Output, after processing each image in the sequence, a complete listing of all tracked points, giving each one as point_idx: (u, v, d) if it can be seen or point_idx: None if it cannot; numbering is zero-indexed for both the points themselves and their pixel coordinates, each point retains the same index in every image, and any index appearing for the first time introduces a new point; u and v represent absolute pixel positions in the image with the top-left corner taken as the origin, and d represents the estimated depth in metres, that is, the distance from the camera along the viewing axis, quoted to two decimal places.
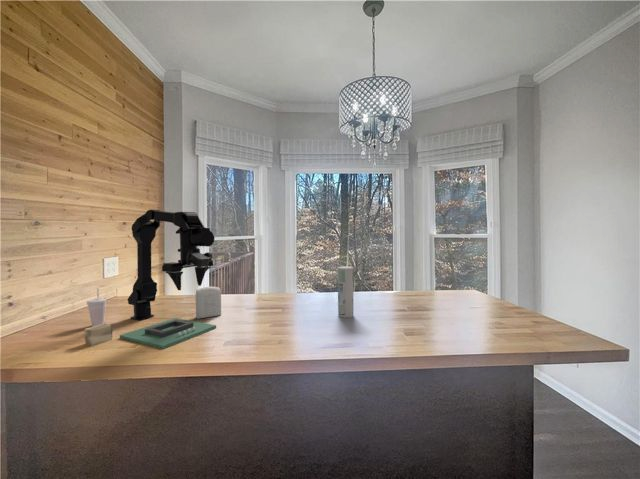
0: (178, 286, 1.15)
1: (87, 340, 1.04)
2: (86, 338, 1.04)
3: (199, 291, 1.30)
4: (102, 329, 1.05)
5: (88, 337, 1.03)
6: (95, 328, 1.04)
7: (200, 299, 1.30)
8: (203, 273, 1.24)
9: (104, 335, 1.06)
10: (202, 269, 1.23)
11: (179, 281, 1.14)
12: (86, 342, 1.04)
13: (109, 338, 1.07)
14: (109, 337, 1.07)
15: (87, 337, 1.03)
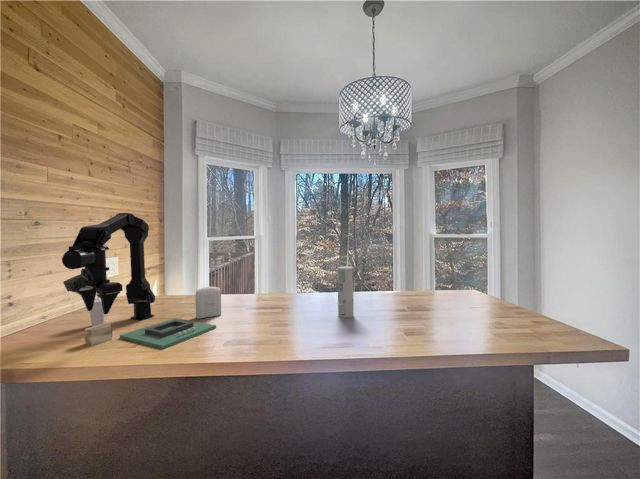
0: None
1: (87, 340, 1.04)
2: (86, 338, 1.04)
3: (199, 291, 1.30)
4: (102, 329, 1.05)
5: (88, 337, 1.03)
6: (95, 328, 1.04)
7: (200, 299, 1.30)
8: (102, 300, 1.02)
9: (104, 335, 1.06)
10: None
11: (84, 301, 1.07)
12: (86, 342, 1.04)
13: (109, 338, 1.07)
14: (109, 337, 1.07)
15: (87, 337, 1.03)
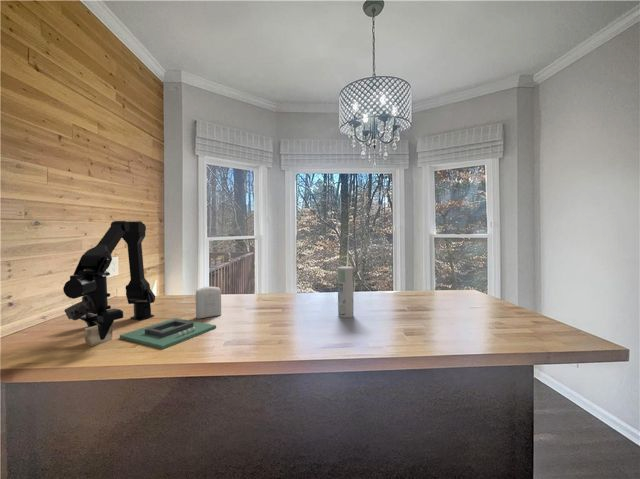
0: None
1: (87, 340, 1.04)
2: (86, 338, 1.04)
3: (199, 291, 1.30)
4: None
5: (88, 337, 1.03)
6: (95, 328, 1.04)
7: (200, 299, 1.30)
8: (98, 326, 1.03)
9: None
10: None
11: None
12: (86, 342, 1.04)
13: (109, 338, 1.07)
14: (109, 337, 1.07)
15: (87, 337, 1.03)
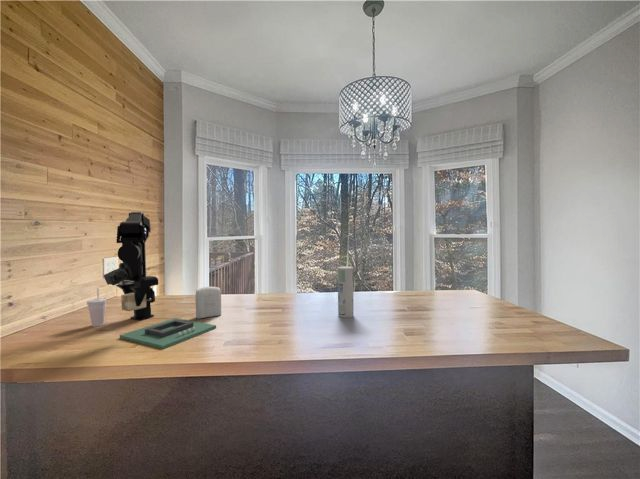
0: None
1: (124, 306, 1.07)
2: (122, 304, 1.07)
3: (199, 291, 1.30)
4: None
5: (125, 303, 1.06)
6: (131, 294, 1.08)
7: (200, 299, 1.30)
8: (135, 293, 1.06)
9: None
10: None
11: None
12: (122, 308, 1.07)
13: (144, 305, 1.10)
14: (144, 304, 1.10)
15: (124, 303, 1.07)
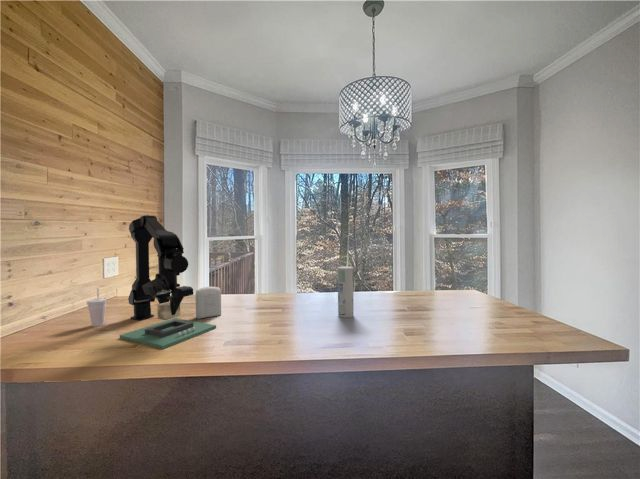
0: None
1: (160, 315, 1.11)
2: (159, 313, 1.11)
3: (199, 291, 1.30)
4: None
5: (161, 312, 1.11)
6: (167, 304, 1.12)
7: (200, 299, 1.30)
8: (171, 302, 1.11)
9: None
10: None
11: None
12: (159, 317, 1.11)
13: (178, 314, 1.15)
14: (178, 313, 1.15)
15: (160, 312, 1.11)
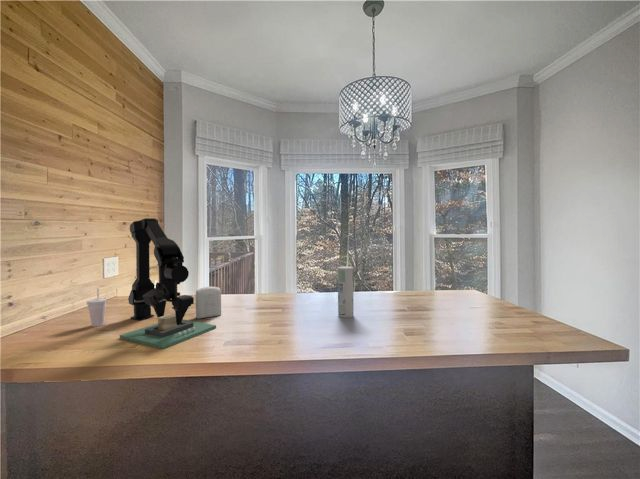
0: None
1: (160, 328, 1.11)
2: (159, 326, 1.12)
3: (199, 291, 1.30)
4: (173, 318, 1.13)
5: (162, 325, 1.11)
6: (167, 317, 1.12)
7: (200, 299, 1.30)
8: (176, 312, 1.10)
9: (175, 324, 1.13)
10: None
11: (156, 312, 1.15)
12: None
13: None
14: None
15: (160, 326, 1.11)
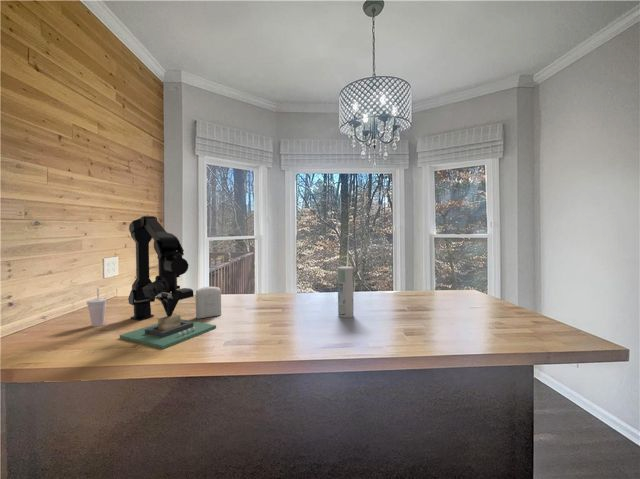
0: None
1: (160, 328, 1.11)
2: (159, 326, 1.12)
3: (199, 291, 1.30)
4: (173, 318, 1.13)
5: (162, 325, 1.11)
6: (167, 317, 1.12)
7: (200, 299, 1.30)
8: (167, 304, 1.12)
9: (175, 324, 1.13)
10: None
11: (164, 307, 1.13)
12: None
13: None
14: None
15: (160, 326, 1.11)
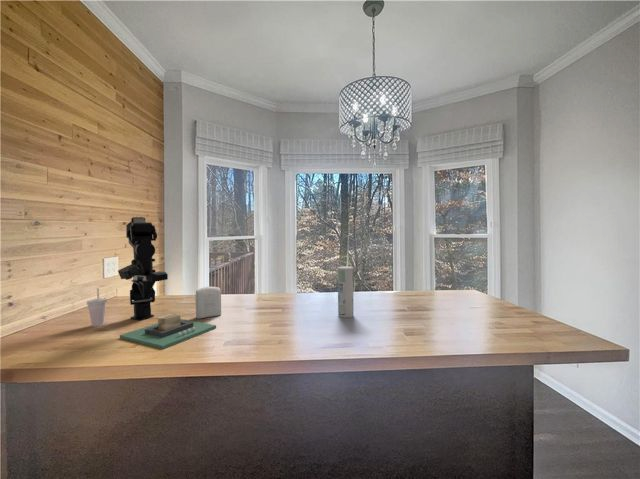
0: None
1: (160, 328, 1.11)
2: (159, 326, 1.12)
3: (199, 291, 1.30)
4: (173, 318, 1.13)
5: (162, 325, 1.11)
6: (167, 317, 1.12)
7: (200, 299, 1.30)
8: (142, 286, 1.17)
9: (175, 324, 1.13)
10: None
11: (140, 289, 1.18)
12: None
13: None
14: None
15: (160, 326, 1.11)
